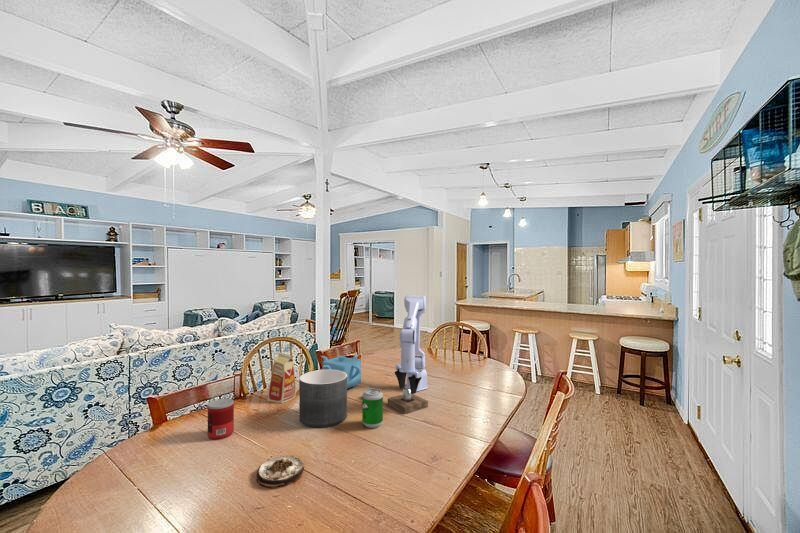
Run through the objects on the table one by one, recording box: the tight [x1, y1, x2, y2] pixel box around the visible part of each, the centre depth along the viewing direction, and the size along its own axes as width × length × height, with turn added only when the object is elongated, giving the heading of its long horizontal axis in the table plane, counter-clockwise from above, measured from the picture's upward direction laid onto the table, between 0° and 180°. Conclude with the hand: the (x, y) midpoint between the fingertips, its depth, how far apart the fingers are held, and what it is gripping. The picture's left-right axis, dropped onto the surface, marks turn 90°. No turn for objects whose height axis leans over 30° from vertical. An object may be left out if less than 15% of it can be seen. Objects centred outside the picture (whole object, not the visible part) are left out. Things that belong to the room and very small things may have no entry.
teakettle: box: [320, 354, 362, 390], centre depth 168 cm, size 19×19×15 cm
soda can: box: [361, 388, 384, 429], centre depth 128 cm, size 8×8×12 cm
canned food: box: [207, 398, 235, 441], centre depth 120 cm, size 8×8×11 cm
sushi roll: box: [256, 455, 306, 489], centre depth 97 cm, size 15×15×4 cm
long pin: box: [402, 388, 411, 403], centre depth 146 cm, size 3×3×7 cm
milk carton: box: [266, 351, 297, 404], centre depth 153 cm, size 9×9×20 cm
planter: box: [298, 369, 348, 429], centre depth 134 cm, size 18×18×16 cm
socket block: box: [387, 393, 429, 415], centre depth 146 cm, size 12×12×2 cm
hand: (407, 390), depth 146 cm, fingers open, 7 cm apart
